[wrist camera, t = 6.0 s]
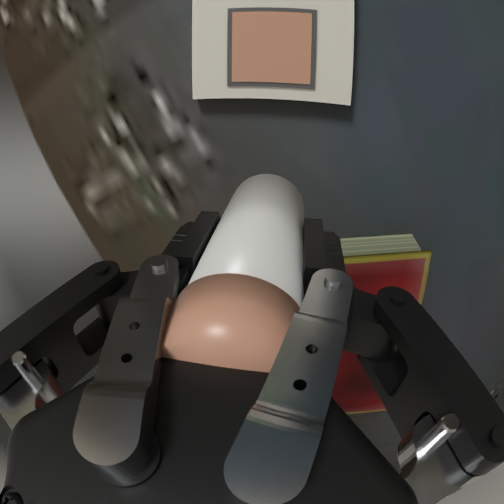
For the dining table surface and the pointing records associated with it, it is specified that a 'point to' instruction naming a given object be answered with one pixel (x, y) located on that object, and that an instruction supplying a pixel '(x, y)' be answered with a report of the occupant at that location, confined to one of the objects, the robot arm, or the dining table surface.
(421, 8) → the dining table surface
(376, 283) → the hardcover book
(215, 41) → the colouring board
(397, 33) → the dining table surface
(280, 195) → the marker
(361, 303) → the robot arm
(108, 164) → the dining table surface
